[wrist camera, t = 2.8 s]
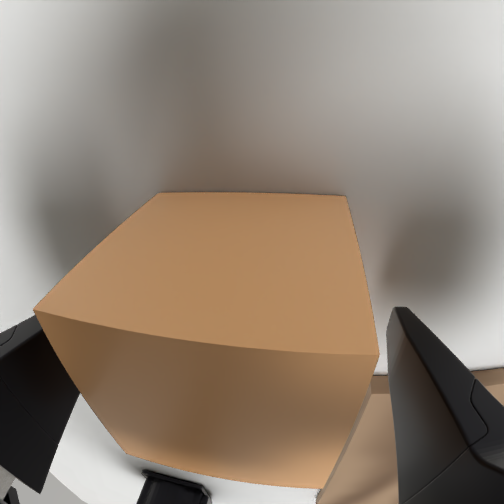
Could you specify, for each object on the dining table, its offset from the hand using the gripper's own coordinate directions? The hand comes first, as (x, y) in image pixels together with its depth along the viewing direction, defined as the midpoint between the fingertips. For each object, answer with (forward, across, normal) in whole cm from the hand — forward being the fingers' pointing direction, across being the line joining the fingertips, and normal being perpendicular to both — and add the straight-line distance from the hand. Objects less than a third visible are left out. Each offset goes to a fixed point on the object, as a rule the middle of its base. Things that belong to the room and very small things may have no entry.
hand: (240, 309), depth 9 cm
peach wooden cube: (+2, 0, 0) cm, 2 cm away
